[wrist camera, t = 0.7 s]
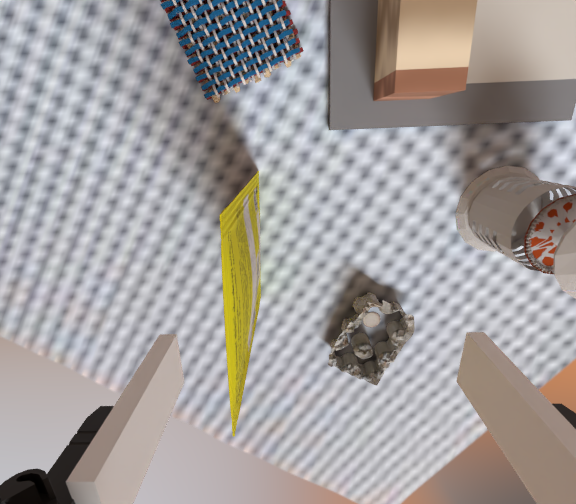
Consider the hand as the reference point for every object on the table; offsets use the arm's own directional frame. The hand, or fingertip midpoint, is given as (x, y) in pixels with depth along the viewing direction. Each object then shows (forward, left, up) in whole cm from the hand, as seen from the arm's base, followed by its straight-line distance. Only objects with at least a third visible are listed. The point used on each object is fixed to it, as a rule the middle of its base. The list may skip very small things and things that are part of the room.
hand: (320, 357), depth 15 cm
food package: (+2, -5, -24) cm, 25 cm away
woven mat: (-19, -6, -25) cm, 32 cm away
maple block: (-17, +10, -23) cm, 30 cm away
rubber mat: (-17, +15, -24) cm, 33 cm away
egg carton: (+15, +8, -24) cm, 29 cm away
